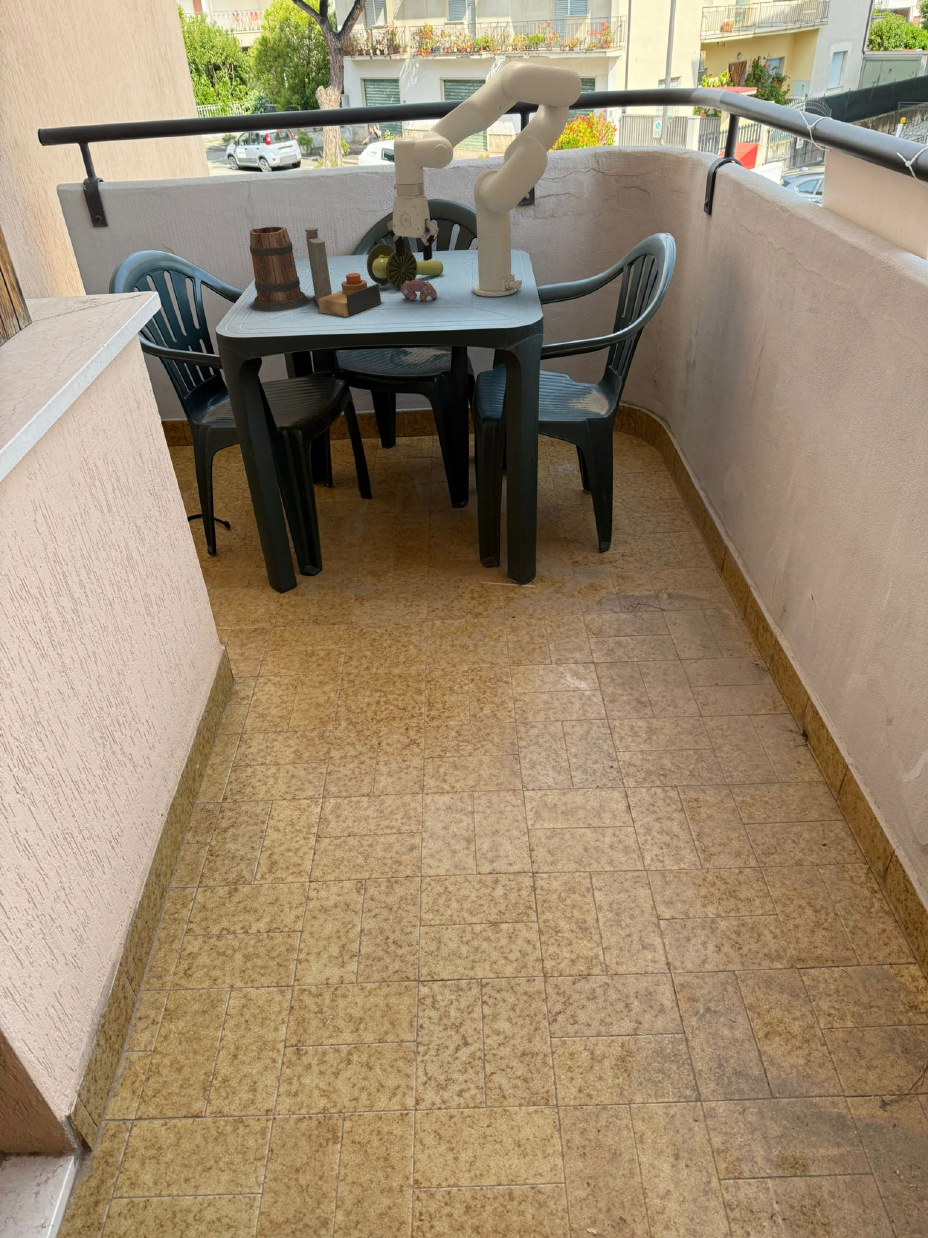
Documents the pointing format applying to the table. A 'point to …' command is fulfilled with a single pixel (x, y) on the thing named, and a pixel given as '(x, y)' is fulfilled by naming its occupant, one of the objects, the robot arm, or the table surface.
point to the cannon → (398, 266)
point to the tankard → (275, 270)
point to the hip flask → (318, 264)
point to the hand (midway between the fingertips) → (414, 257)
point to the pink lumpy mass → (418, 290)
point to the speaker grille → (363, 299)
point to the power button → (353, 278)
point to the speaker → (340, 300)
